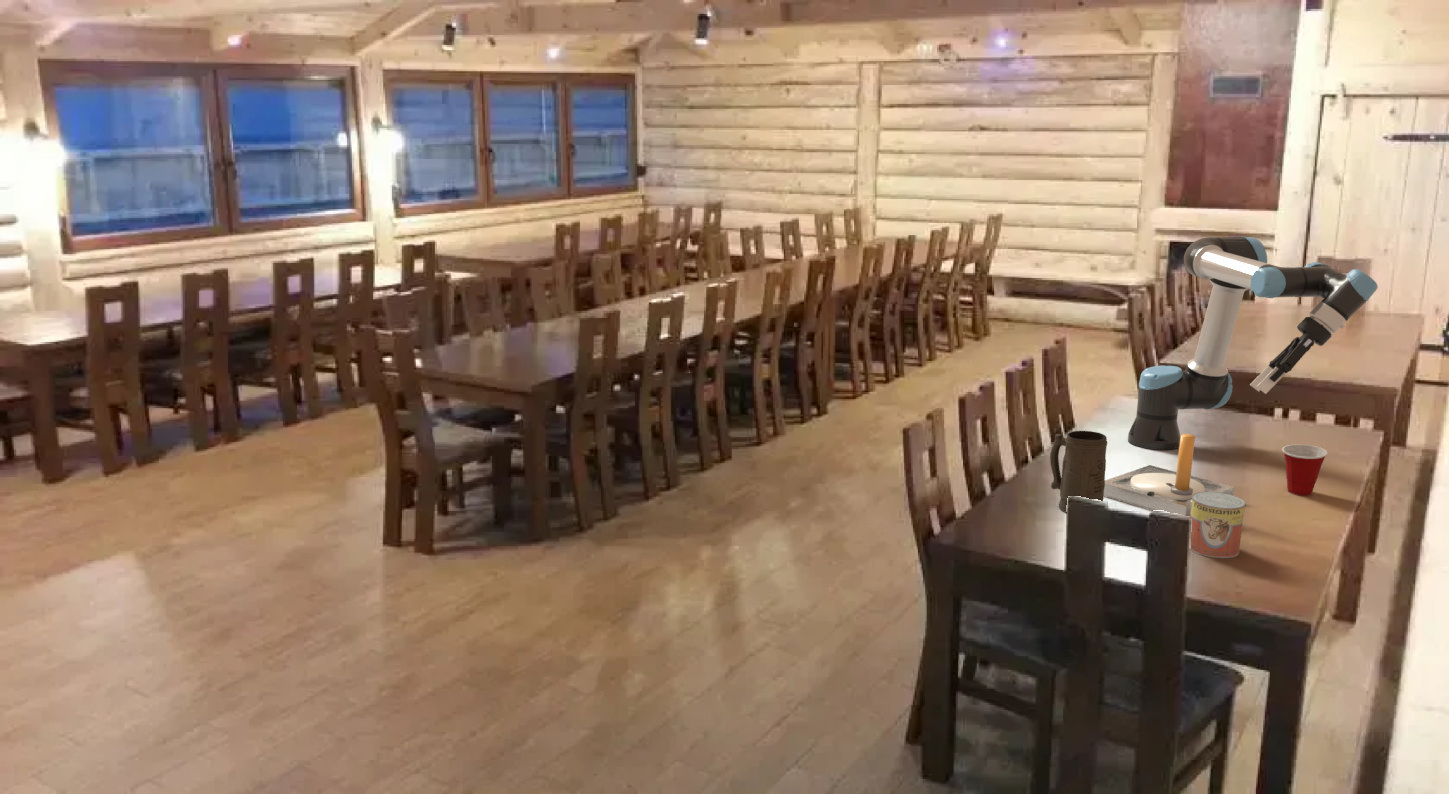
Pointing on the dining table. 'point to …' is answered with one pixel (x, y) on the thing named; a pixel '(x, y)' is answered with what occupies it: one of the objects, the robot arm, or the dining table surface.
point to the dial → (1172, 476)
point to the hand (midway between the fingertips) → (1257, 389)
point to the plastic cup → (1302, 467)
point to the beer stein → (1079, 465)
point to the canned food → (1216, 524)
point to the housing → (1124, 492)
